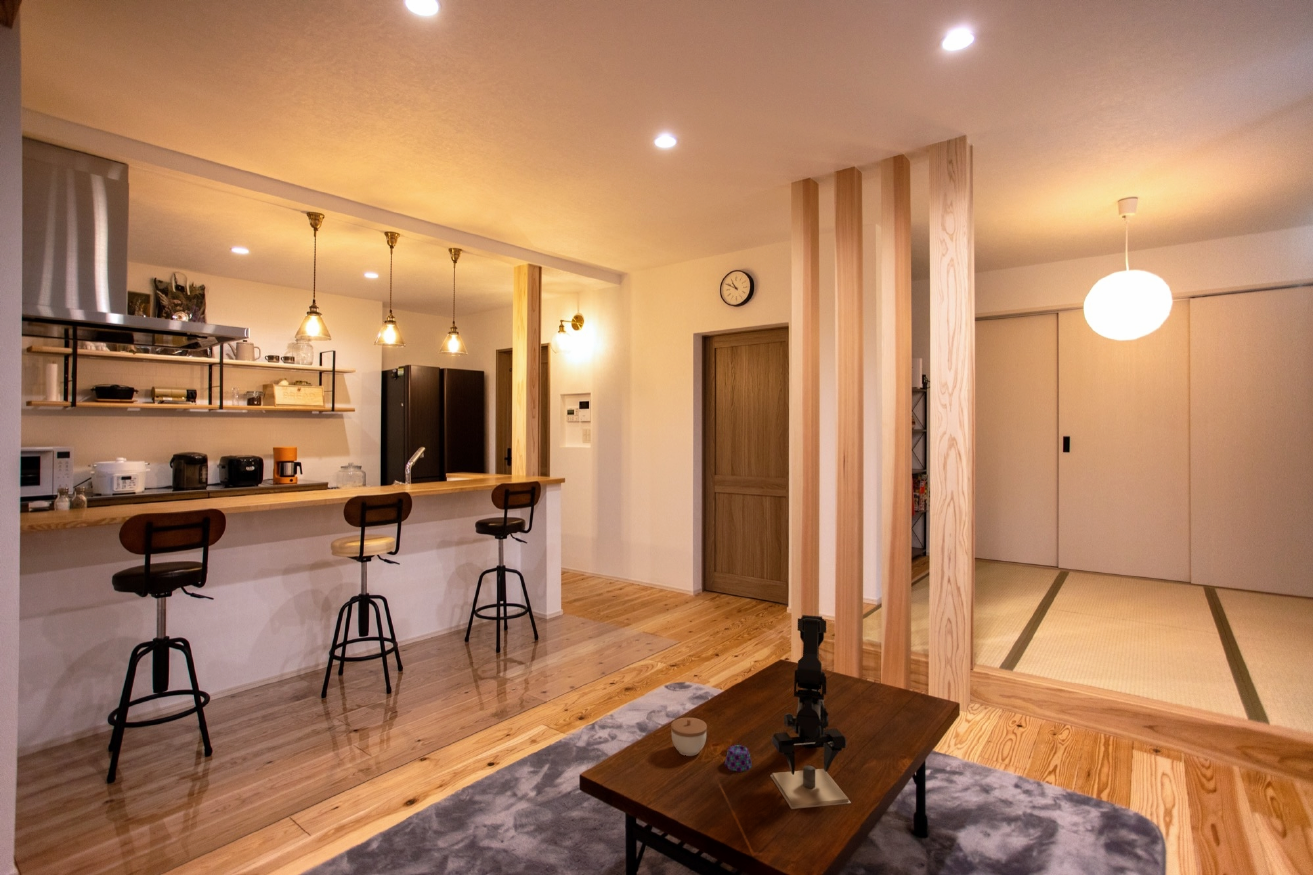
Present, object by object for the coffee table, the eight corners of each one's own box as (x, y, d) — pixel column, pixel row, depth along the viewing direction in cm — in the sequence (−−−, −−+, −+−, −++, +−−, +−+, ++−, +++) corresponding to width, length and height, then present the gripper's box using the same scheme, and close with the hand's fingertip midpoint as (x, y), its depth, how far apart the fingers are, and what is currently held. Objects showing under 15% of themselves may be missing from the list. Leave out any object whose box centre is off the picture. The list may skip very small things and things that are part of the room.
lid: (823, 771, 178) (823, 752, 178) (848, 801, 163) (848, 781, 163) (772, 775, 176) (772, 756, 176) (792, 807, 161) (792, 786, 161)
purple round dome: (758, 781, 175) (758, 762, 175) (714, 775, 177) (714, 757, 177) (760, 759, 186) (760, 741, 186) (719, 754, 189) (719, 737, 189)
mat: (824, 772, 179) (824, 770, 179) (851, 805, 163) (851, 802, 163) (770, 777, 176) (770, 775, 176) (791, 810, 160) (791, 808, 160)
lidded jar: (704, 761, 184) (704, 729, 184) (668, 757, 187) (668, 725, 186) (708, 744, 195) (708, 713, 195) (674, 740, 197) (674, 710, 197)
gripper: (829, 699, 179) (829, 754, 179) (765, 703, 176) (765, 759, 176) (847, 716, 168) (847, 775, 168) (779, 721, 165) (779, 781, 165)
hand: (809, 772), depth 169 cm, fingers open, 9 cm apart
